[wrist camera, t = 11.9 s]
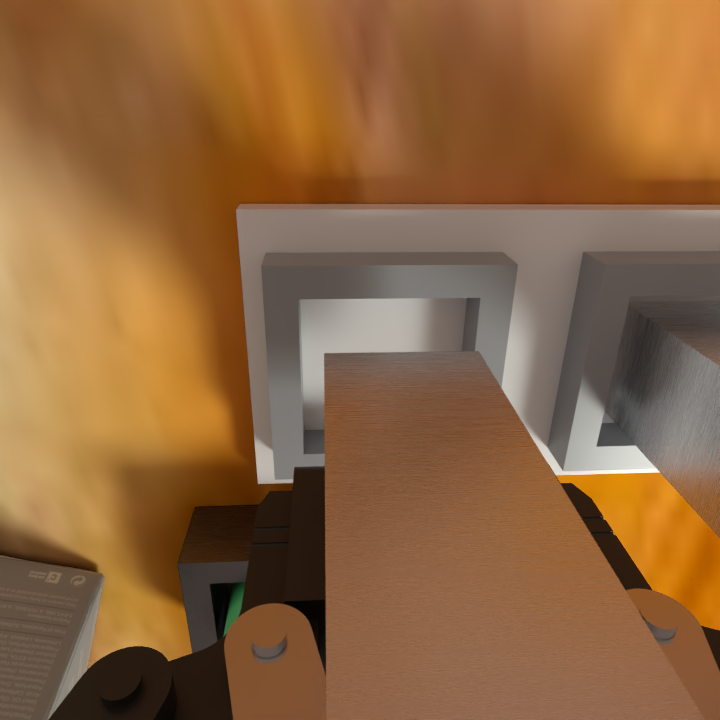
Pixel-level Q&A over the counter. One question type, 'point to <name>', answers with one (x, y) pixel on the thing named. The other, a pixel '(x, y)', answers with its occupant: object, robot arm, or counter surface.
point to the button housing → (214, 567)
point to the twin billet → (673, 395)
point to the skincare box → (43, 634)
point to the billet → (466, 561)
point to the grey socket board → (463, 308)
